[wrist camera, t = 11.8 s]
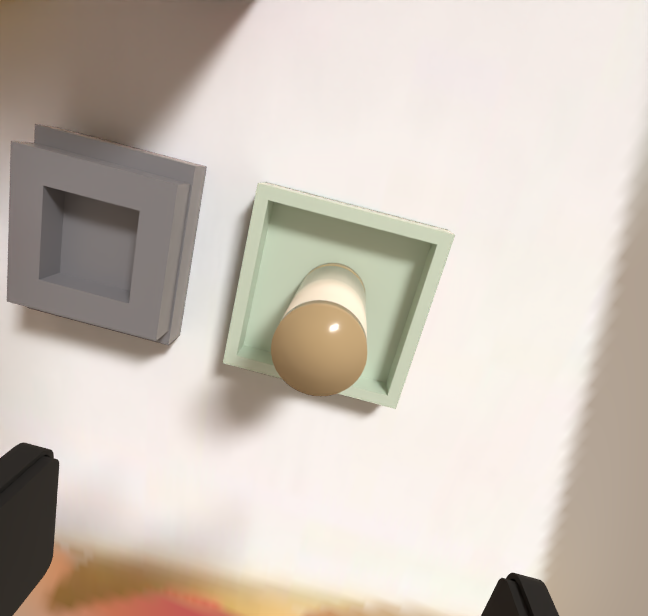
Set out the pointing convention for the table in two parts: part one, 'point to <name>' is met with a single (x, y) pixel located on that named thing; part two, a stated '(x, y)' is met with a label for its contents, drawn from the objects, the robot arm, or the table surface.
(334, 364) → the cylinder
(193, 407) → the table surface
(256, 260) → the parts tray
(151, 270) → the socket block
